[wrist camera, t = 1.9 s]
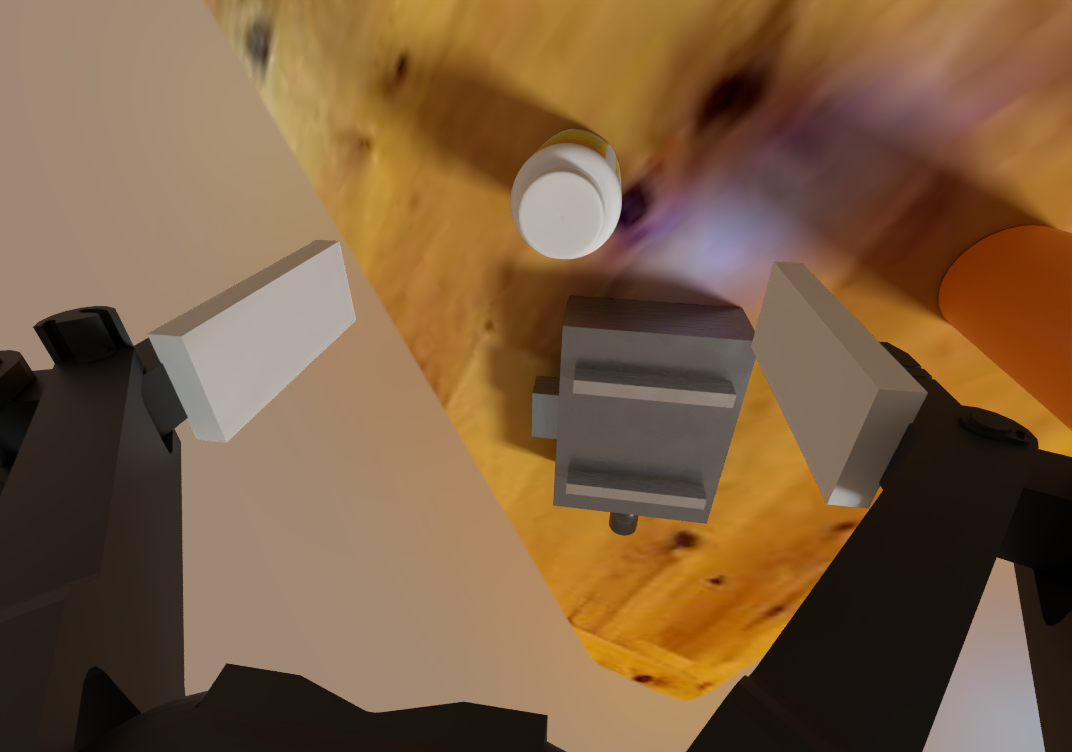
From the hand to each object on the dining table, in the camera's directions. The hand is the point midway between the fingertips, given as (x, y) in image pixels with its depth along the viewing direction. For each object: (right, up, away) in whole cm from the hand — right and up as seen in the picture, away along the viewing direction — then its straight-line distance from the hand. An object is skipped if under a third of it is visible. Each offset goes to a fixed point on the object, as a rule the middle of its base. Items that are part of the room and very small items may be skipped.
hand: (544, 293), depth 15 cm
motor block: (+7, -6, +25) cm, 26 cm away
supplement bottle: (+2, +10, +16) cm, 19 cm away
